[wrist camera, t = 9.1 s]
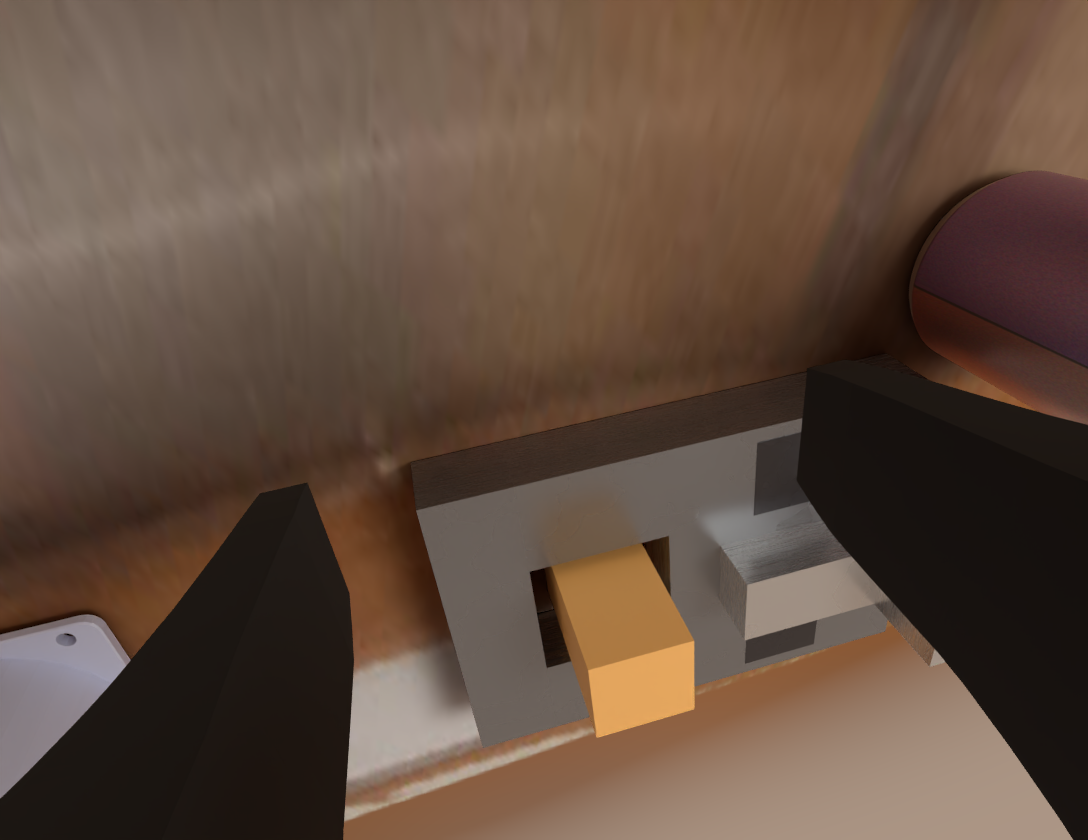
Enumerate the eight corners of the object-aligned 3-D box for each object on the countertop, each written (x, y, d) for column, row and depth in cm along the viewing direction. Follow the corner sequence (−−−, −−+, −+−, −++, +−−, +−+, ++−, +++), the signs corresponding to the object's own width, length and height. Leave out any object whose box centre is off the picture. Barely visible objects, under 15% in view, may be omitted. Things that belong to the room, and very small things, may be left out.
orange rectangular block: (547, 591, 25) (596, 737, 20) (538, 528, 23) (587, 670, 18) (626, 570, 25) (694, 709, 20) (622, 507, 23) (694, 640, 18)
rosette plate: (473, 692, 26) (483, 748, 24) (410, 462, 20) (416, 511, 18) (848, 587, 28) (885, 631, 26) (886, 353, 23) (938, 386, 21)
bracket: (719, 600, 23) (787, 709, 20) (720, 545, 22) (794, 652, 18) (887, 554, 24) (982, 650, 20) (898, 499, 23) (1002, 592, 19)
